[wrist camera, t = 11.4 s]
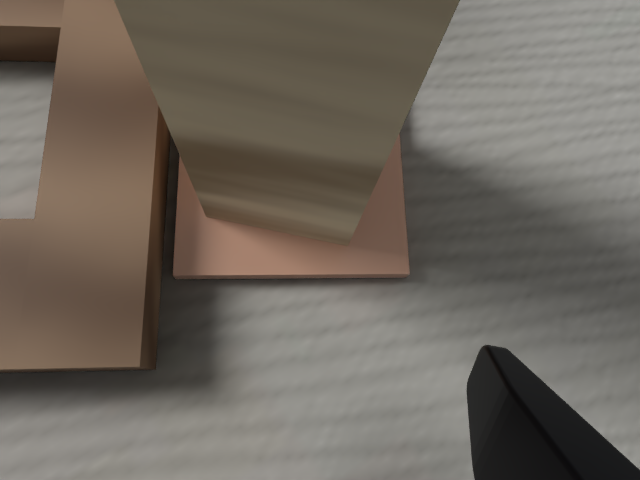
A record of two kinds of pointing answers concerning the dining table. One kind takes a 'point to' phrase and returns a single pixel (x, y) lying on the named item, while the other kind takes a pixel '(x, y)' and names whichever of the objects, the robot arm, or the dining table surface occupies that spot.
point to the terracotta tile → (294, 240)
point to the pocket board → (86, 199)
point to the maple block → (286, 99)
